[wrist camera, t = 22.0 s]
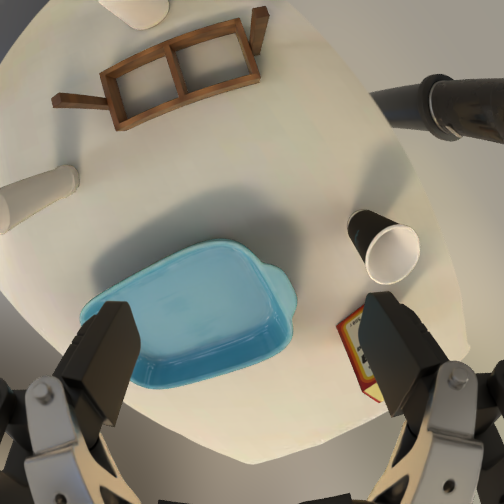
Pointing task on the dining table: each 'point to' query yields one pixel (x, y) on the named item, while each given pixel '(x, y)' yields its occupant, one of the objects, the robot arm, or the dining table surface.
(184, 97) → the frame
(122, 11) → the can
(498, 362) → the robot arm
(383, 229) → the dixie cup
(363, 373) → the baking soda box
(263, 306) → the casserole dish
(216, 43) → the dining table surface
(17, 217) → the bottle
